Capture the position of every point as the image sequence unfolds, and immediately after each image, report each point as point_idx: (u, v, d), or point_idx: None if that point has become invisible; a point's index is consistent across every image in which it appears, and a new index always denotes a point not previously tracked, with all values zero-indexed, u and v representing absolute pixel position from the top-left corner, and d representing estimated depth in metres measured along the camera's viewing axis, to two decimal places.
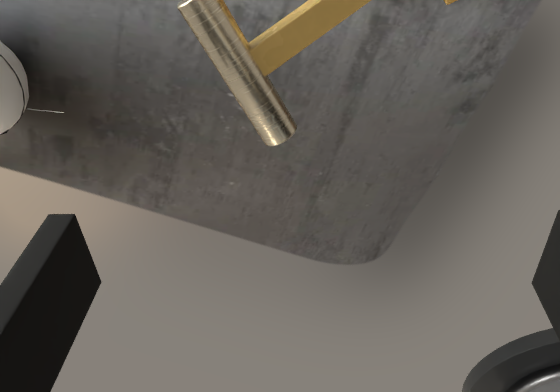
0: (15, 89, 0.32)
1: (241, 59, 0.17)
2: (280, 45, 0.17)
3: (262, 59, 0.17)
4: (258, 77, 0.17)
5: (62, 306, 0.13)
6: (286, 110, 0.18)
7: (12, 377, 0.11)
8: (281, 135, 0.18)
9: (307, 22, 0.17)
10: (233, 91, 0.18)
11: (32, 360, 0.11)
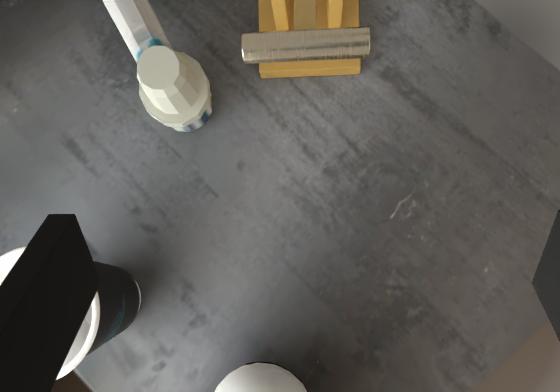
0: (284, 372, 0.33)
1: (294, 32, 0.23)
2: (304, 16, 0.24)
3: (304, 26, 0.23)
4: (313, 30, 0.23)
5: (62, 306, 0.13)
6: None
7: (12, 377, 0.11)
8: (363, 31, 0.23)
9: (301, 1, 0.25)
10: (314, 50, 0.23)
11: (32, 360, 0.11)
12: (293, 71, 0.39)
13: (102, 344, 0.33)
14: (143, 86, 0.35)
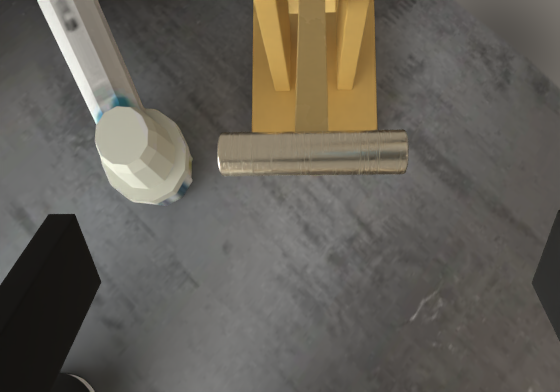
0: None
1: (295, 137, 0.16)
2: (309, 108, 0.17)
3: (310, 125, 0.16)
4: (323, 133, 0.16)
5: (62, 306, 0.13)
6: None
7: (12, 377, 0.11)
8: (398, 140, 0.15)
9: (306, 82, 0.17)
10: (323, 165, 0.15)
11: (32, 360, 0.11)
12: None
13: None
14: (102, 158, 0.28)
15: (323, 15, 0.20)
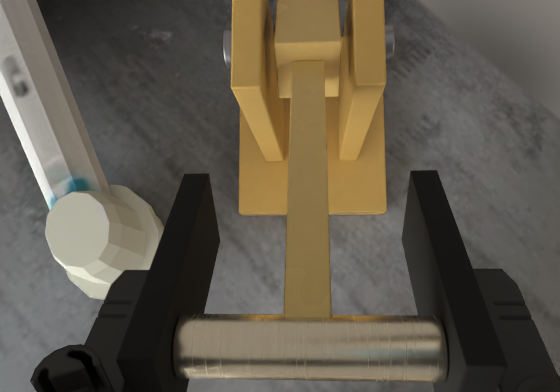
0: None
1: (283, 332, 0.11)
2: (304, 275, 0.12)
3: (305, 307, 0.11)
4: (323, 325, 0.11)
5: (204, 255, 0.14)
6: (401, 316, 0.11)
7: (184, 309, 0.12)
8: (433, 343, 0.10)
9: (300, 230, 0.12)
10: (325, 375, 0.11)
11: (192, 298, 0.13)
12: None
13: None
14: (54, 256, 0.23)
15: (323, 117, 0.15)
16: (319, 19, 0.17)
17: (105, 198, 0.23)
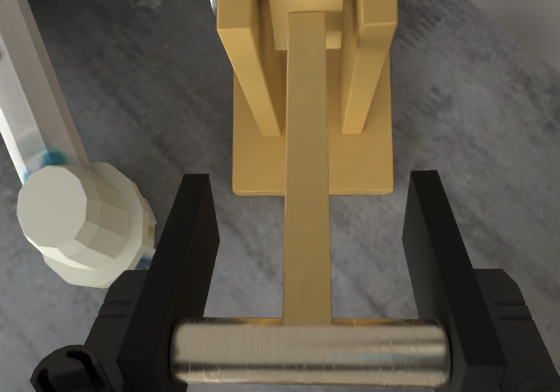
0: None
1: (282, 343, 0.10)
2: (304, 276, 0.11)
3: (304, 313, 0.11)
4: (324, 334, 0.10)
5: (204, 255, 0.14)
6: (404, 321, 0.11)
7: (184, 310, 0.12)
8: (437, 355, 0.10)
9: (299, 224, 0.12)
10: (325, 383, 0.10)
11: (192, 298, 0.13)
12: None
13: None
14: (27, 237, 0.21)
15: (324, 85, 0.13)
16: None
17: (83, 173, 0.21)
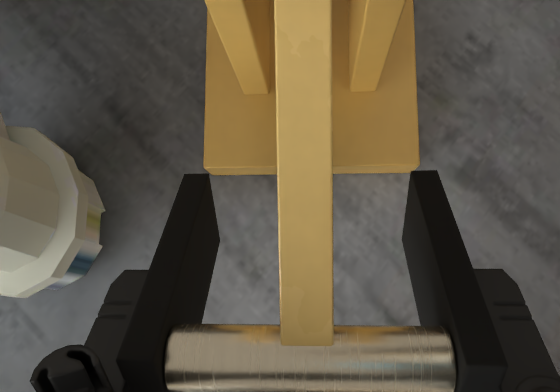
0: None
1: (281, 370, 0.10)
2: (303, 296, 0.10)
3: (304, 335, 0.10)
4: (324, 360, 0.10)
5: (204, 255, 0.14)
6: (410, 340, 0.10)
7: (184, 310, 0.12)
8: (442, 382, 0.10)
9: (296, 234, 0.10)
10: None
11: (192, 298, 0.13)
12: (274, 169, 0.18)
13: None
14: None
15: (327, 25, 0.09)
16: None
17: None
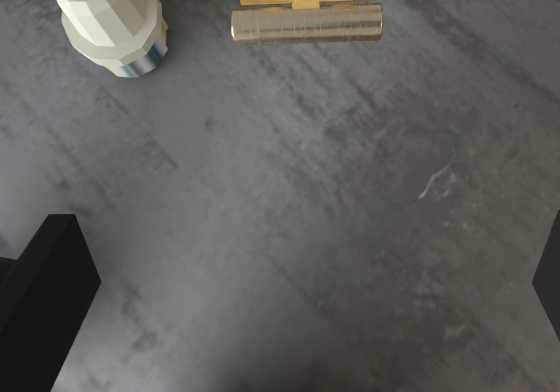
0: None
1: (292, 19, 0.19)
2: None
3: (304, 2, 0.19)
4: (315, 13, 0.19)
5: (62, 306, 0.13)
6: (359, 4, 0.19)
7: (12, 377, 0.11)
8: (375, 21, 0.19)
9: None
10: (316, 40, 0.20)
11: (31, 360, 0.11)
12: None
13: None
14: None
15: None
16: None
17: None
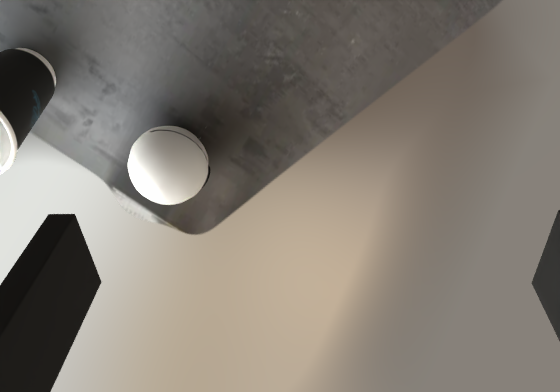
0: (179, 138, 0.43)
1: None
2: None
3: None
4: None
5: (62, 306, 0.13)
6: None
7: (12, 377, 0.11)
8: None
9: None
10: None
11: (31, 360, 0.11)
12: None
13: None
14: None
15: None
16: None
17: None
